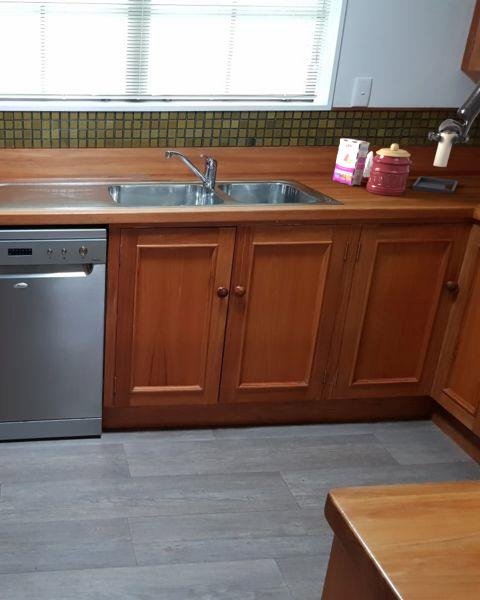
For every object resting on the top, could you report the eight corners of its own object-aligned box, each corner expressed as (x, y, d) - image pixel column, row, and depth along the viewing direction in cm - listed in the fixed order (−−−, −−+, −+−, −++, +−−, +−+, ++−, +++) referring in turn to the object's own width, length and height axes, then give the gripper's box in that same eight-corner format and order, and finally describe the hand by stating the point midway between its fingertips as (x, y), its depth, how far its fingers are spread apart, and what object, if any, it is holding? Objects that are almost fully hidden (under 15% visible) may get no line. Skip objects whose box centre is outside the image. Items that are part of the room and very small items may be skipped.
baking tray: (456, 185, 239) (458, 181, 239) (452, 195, 223) (453, 190, 222) (418, 180, 246) (419, 176, 245) (411, 190, 229) (412, 185, 229)
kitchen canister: (368, 186, 233) (378, 139, 226) (405, 191, 227) (416, 143, 220) (363, 193, 222) (373, 143, 216) (402, 198, 216) (414, 147, 210)
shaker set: (361, 180, 242) (367, 152, 238) (353, 178, 246) (359, 151, 242) (385, 179, 246) (391, 152, 242) (377, 177, 250) (383, 150, 245)
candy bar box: (361, 185, 234) (371, 142, 228) (351, 186, 233) (360, 142, 226) (342, 179, 244) (350, 137, 237) (331, 180, 242) (339, 138, 236)
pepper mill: (446, 165, 232) (456, 130, 227) (445, 167, 228) (455, 131, 223) (433, 164, 234) (442, 129, 229) (432, 165, 231) (441, 130, 225)
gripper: (431, 123, 240) (426, 127, 227) (473, 126, 233) (470, 131, 220) (427, 142, 243) (422, 147, 230) (468, 146, 236) (465, 152, 223)
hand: (446, 139), depth 225 cm, fingers closed on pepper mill, 4 cm apart
